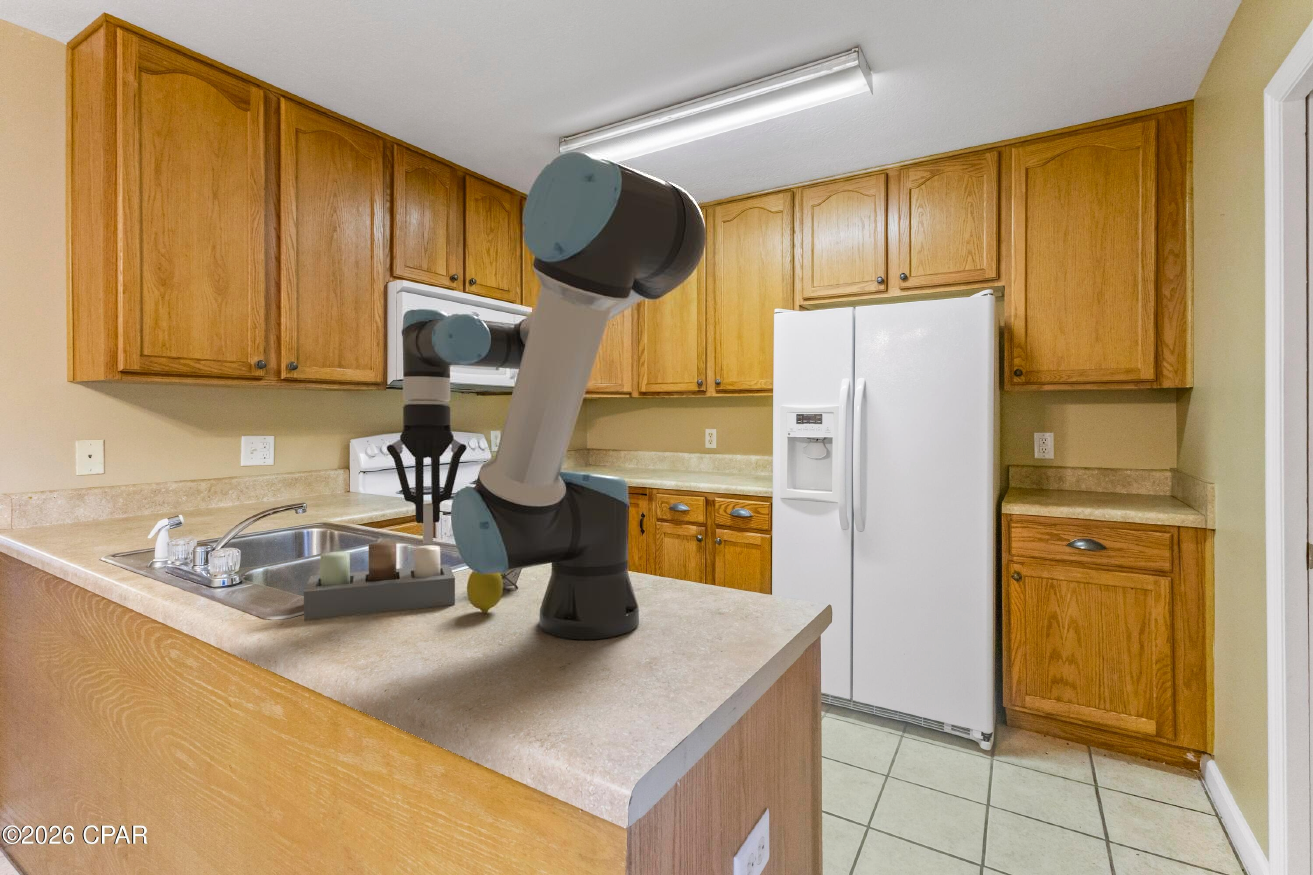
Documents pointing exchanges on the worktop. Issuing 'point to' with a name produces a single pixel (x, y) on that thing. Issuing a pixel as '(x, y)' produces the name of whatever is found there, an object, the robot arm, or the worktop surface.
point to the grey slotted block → (378, 594)
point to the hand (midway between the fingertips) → (427, 541)
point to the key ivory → (426, 561)
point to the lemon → (484, 590)
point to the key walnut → (382, 561)
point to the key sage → (335, 568)
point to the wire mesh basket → (510, 578)
